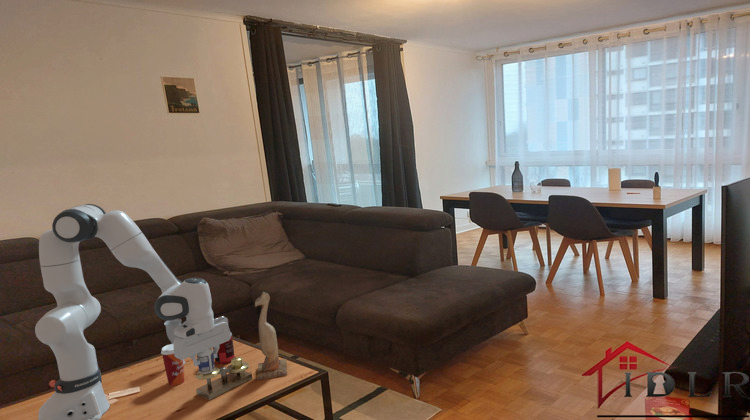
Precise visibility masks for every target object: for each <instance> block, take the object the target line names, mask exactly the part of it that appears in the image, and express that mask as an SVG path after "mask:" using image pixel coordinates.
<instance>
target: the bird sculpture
mask: <svg viewBox="0 0 750 420" xmlns="http://www.w3.org/2000/svg"><path fill="white" fill-rule="evenodd" d="M270 300H271V297H270V295H269V293H268V292H266V291H262V293H261V294H260V296H259V297H258V298H256V299H255V300H254V307H255V308H257V307H261V308H260V309H261V310H260V314H259V318H258V336H259V345H260V351H261V353H262V354H263V356H265V358H264V360H263V362H258V364H257V373H256V376H257V377H256V378H257V381H262V380H266V379H272V378H279V377H285V376H287V375H288V368H287V364H288V363H287V359H288V358H284V359H282V358H281V359H279V356H280V355H279V347H278V346H279V344H278V339H277V331H276V329H275V327H274V326H273V325H272V324H270V323H269V322H267V315H268V308H269V303H270Z"/></svg>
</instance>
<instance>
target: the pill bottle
mask: <svg viewBox="0 0 750 420" xmlns="http://www.w3.org/2000/svg"><path fill="white" fill-rule="evenodd" d="M196 359H198V360H200V365H198V366H197V367H198V371H199V373H201V374H208V373H211V372H213V371H214V370H215V367H216V366H215V364H216V363H215V359H214V356H213V348H210V349H209V345H207V346H205V349H204V351H202V352H200V353H198V354H196Z"/></svg>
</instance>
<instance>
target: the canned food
mask: <svg viewBox="0 0 750 420" xmlns="http://www.w3.org/2000/svg"><path fill="white" fill-rule="evenodd" d="M230 334H231V338H230V340H229V341H227V342H224V343H222V344H219V350H218V352H217V358H215V359H214V363H215V364H217V365H226V364H229V363H230V364H231V359H233V358H235V356H236V355H235V349H234V339H233V333H232V332H231V331H230ZM213 349H214V348H213V347H212V350H213Z"/></svg>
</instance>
